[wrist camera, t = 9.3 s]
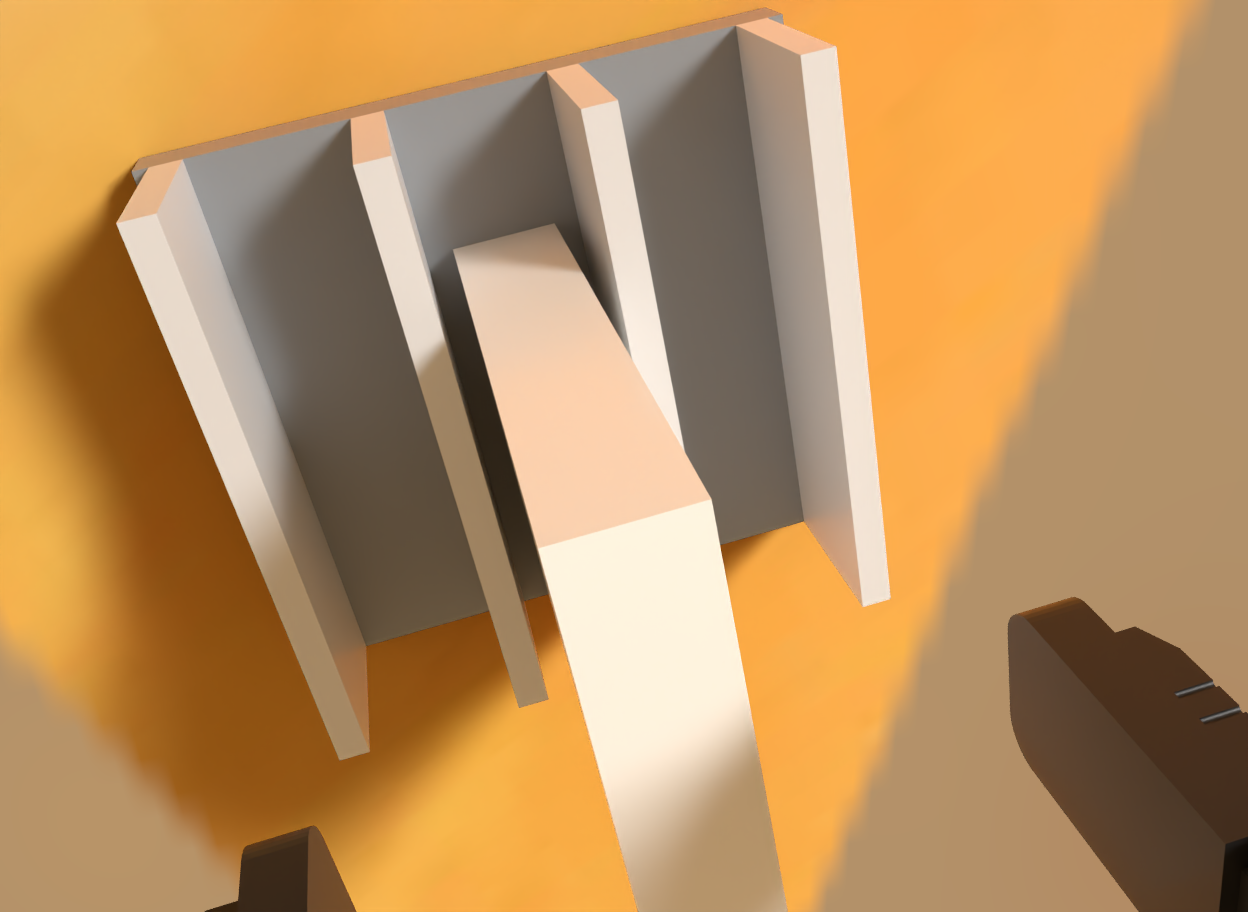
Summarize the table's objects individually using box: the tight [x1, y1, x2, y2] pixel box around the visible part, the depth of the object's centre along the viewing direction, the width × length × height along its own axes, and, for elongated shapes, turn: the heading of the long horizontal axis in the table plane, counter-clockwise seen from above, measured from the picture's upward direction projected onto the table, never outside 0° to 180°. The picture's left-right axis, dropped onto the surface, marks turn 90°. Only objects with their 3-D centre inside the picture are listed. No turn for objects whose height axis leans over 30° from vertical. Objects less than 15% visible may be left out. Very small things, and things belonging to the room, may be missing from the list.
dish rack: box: [116, 8, 891, 760], centre depth 23 cm, size 11×12×4 cm
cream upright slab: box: [453, 223, 788, 912], centre depth 20 cm, size 9×2×11 cm, turn 11°
